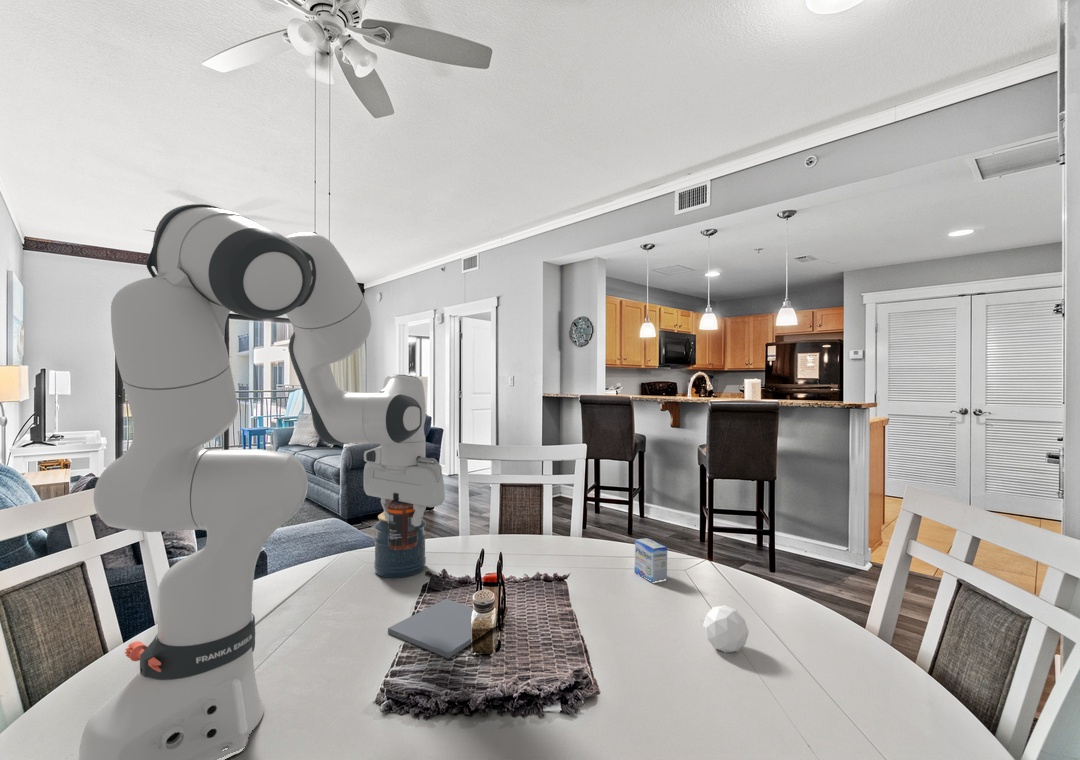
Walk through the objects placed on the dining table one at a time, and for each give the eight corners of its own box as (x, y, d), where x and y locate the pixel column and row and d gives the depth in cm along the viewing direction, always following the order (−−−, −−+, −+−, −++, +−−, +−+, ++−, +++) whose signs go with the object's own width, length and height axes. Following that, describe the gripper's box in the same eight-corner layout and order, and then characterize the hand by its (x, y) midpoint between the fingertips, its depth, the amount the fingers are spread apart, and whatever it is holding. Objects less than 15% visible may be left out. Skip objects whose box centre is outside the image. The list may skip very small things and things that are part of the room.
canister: (374, 563, 135) (374, 497, 135) (423, 558, 139) (424, 494, 139) (373, 581, 123) (374, 509, 123) (427, 575, 126) (428, 505, 126)
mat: (448, 658, 89) (448, 652, 89) (387, 633, 97) (387, 628, 97) (503, 622, 102) (503, 617, 102) (445, 603, 111) (446, 598, 111)
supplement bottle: (421, 542, 105) (422, 488, 105) (412, 552, 99) (412, 495, 99) (393, 540, 106) (394, 487, 105) (382, 550, 100) (383, 493, 99)
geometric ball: (730, 659, 94) (753, 622, 95) (735, 666, 87) (759, 626, 88) (694, 631, 97) (716, 595, 98) (695, 635, 90) (719, 596, 91)
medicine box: (633, 573, 129) (634, 539, 129) (648, 570, 131) (648, 537, 131) (653, 584, 122) (653, 548, 122) (667, 581, 124) (667, 546, 124)
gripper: (452, 457, 99) (451, 527, 99) (382, 449, 110) (381, 511, 110) (429, 461, 94) (428, 535, 94) (358, 452, 105) (357, 518, 105)
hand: (402, 522), depth 102 cm, fingers closed on supplement bottle, 6 cm apart
